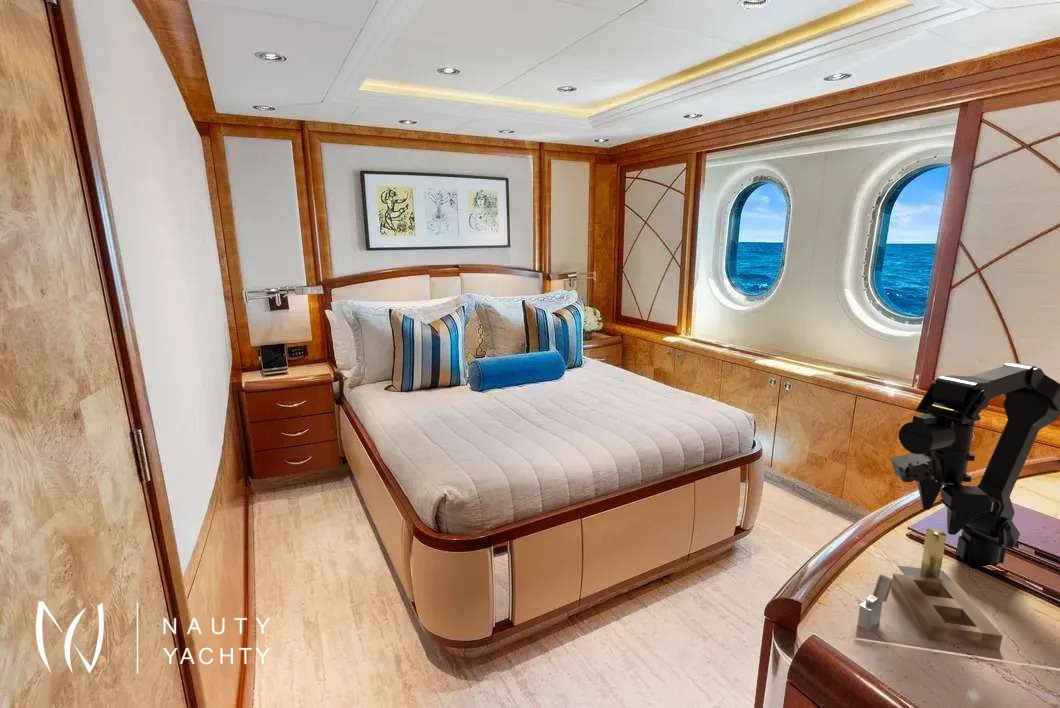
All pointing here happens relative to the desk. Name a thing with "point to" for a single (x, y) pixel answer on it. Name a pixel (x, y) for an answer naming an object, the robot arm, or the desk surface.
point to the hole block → (945, 612)
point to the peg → (933, 554)
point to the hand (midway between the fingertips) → (938, 521)
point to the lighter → (874, 604)
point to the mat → (916, 572)
